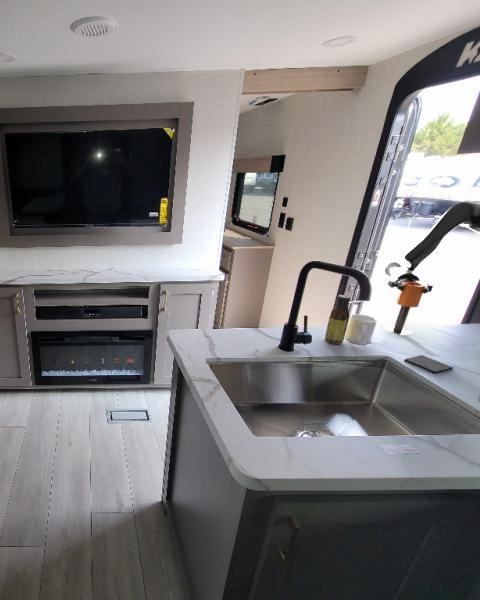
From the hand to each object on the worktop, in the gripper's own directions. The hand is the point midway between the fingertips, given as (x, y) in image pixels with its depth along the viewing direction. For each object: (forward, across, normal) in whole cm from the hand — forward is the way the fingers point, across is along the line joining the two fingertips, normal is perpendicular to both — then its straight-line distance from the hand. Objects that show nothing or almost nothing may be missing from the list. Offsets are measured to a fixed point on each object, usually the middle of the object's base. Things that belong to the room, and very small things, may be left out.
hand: (413, 289), depth 131 cm
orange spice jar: (-2, 0, +7) cm, 8 cm away
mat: (+25, +4, +21) cm, 33 cm away
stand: (-2, 0, +20) cm, 21 cm away
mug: (+17, -15, +21) cm, 30 cm away
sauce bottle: (+20, -23, +21) cm, 37 cm away
